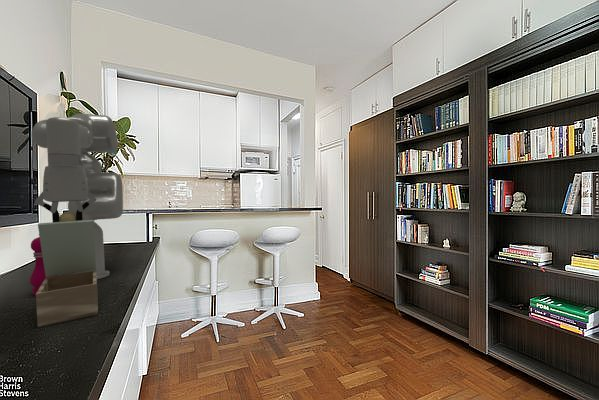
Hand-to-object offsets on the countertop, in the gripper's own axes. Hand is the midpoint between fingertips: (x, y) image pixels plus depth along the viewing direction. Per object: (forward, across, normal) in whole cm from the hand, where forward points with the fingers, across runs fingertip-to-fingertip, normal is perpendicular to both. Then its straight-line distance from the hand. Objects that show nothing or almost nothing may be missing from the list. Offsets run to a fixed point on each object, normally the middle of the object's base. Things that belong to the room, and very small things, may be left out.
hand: (68, 225), depth 86 cm
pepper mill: (+23, +8, -20) cm, 31 cm away
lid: (+7, 0, +1) cm, 7 cm away
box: (+23, 0, +5) cm, 23 cm away
